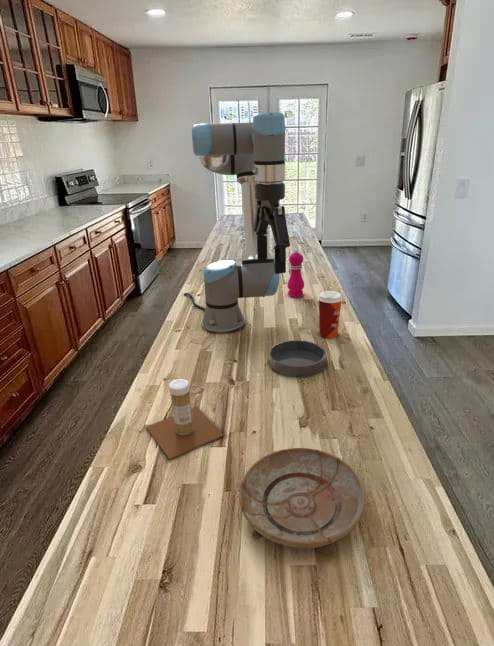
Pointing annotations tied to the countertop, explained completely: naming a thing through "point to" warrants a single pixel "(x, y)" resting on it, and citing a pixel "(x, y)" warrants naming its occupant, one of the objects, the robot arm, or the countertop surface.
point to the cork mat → (180, 444)
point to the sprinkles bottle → (181, 406)
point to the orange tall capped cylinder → (329, 313)
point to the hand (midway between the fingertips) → (270, 265)
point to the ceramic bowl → (302, 497)
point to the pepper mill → (295, 275)
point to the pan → (297, 358)
